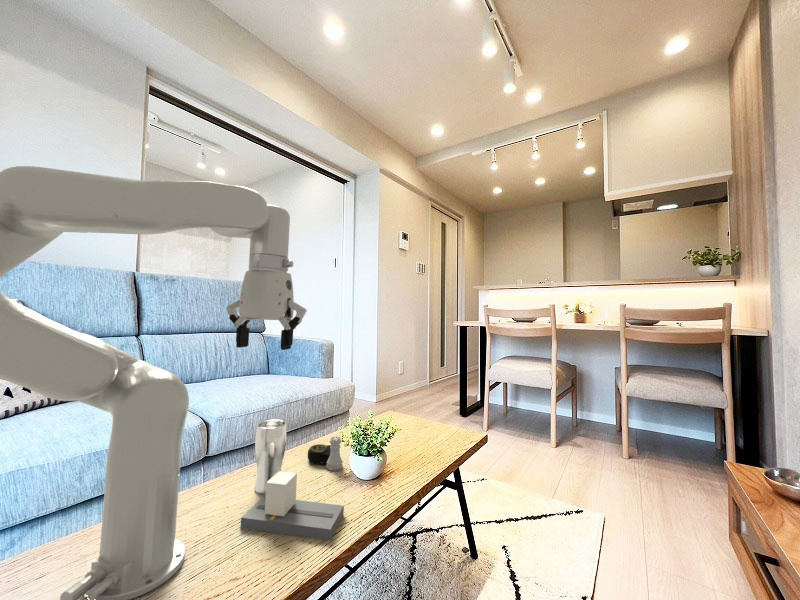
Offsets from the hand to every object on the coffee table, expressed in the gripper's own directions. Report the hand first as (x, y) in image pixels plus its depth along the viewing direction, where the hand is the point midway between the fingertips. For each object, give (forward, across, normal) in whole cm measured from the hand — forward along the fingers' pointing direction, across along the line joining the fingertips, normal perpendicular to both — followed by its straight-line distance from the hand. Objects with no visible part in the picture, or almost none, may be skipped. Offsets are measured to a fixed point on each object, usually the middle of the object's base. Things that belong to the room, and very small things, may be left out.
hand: (263, 348), depth 69 cm
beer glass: (+34, +4, -12) cm, 37 cm away
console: (+34, -8, -1) cm, 35 cm away
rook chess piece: (+34, -8, -26) cm, 44 cm away
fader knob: (+32, -5, -1) cm, 32 cm away
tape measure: (+35, -3, -30) cm, 46 cm away
